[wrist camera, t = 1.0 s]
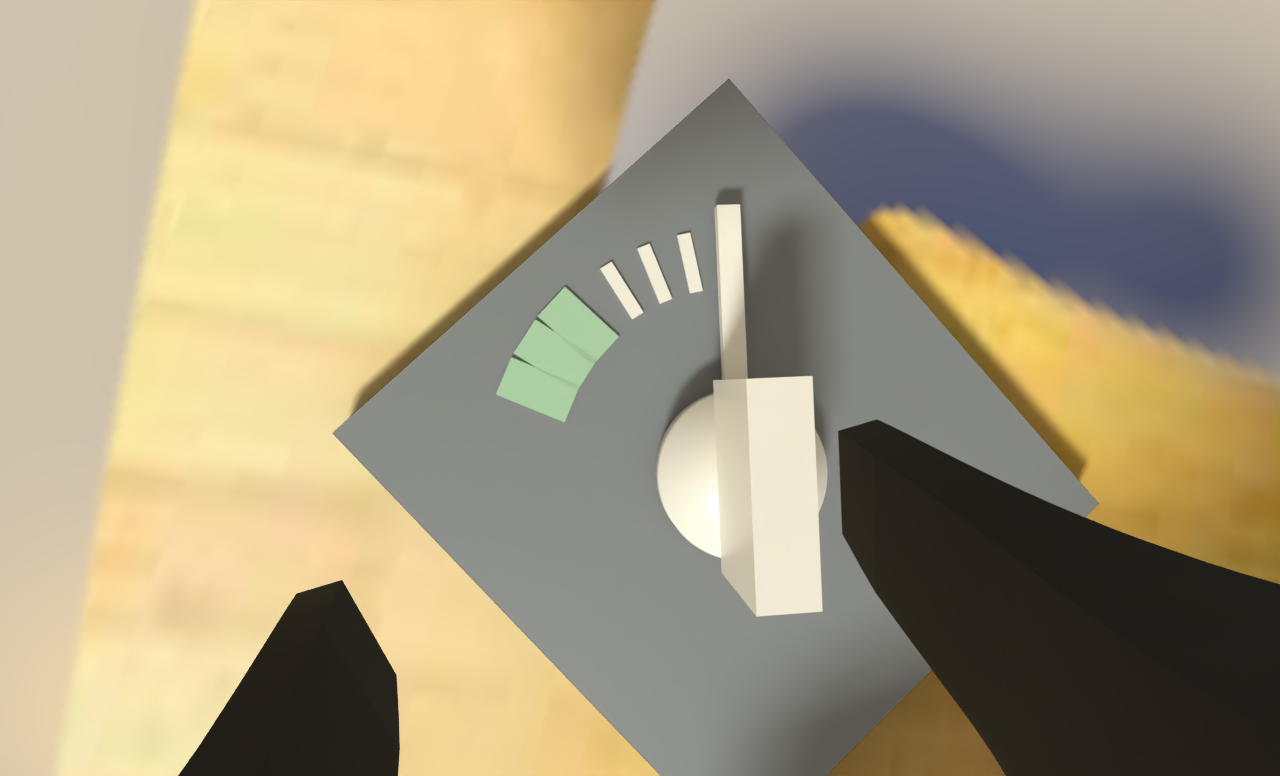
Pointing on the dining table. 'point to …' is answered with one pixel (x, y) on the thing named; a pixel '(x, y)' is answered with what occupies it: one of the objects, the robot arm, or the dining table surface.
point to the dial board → (635, 424)
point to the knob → (748, 463)
